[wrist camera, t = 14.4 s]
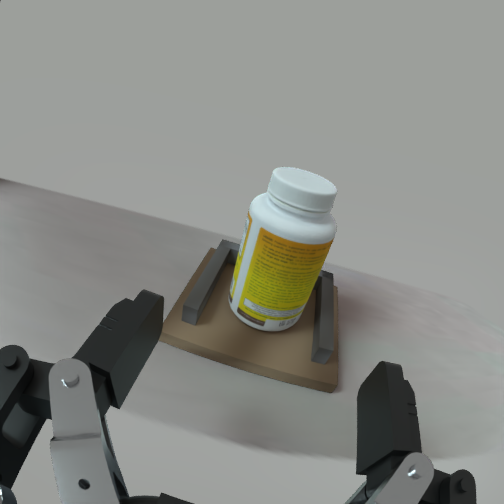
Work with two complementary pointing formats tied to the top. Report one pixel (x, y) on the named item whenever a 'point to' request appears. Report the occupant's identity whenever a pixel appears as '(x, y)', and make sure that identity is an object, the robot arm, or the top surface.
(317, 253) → the supplement bottle
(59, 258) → the top surface
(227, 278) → the notched cradle board
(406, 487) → the robot arm
